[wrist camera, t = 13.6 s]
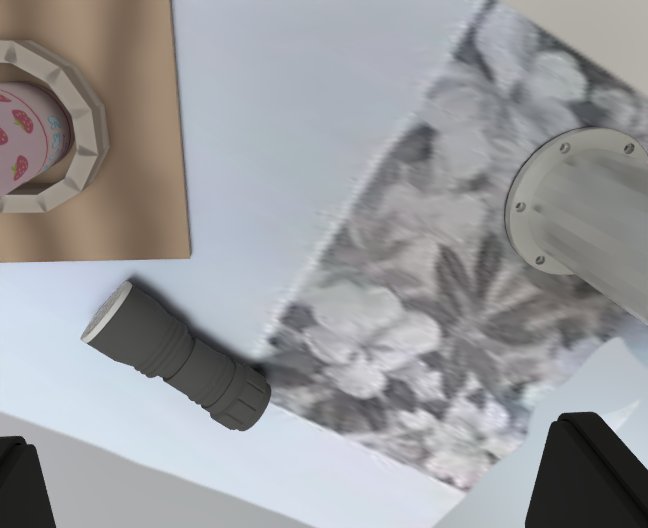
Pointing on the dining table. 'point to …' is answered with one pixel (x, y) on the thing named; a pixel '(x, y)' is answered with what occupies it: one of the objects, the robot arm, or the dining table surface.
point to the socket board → (99, 132)
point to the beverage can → (30, 132)
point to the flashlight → (177, 357)
